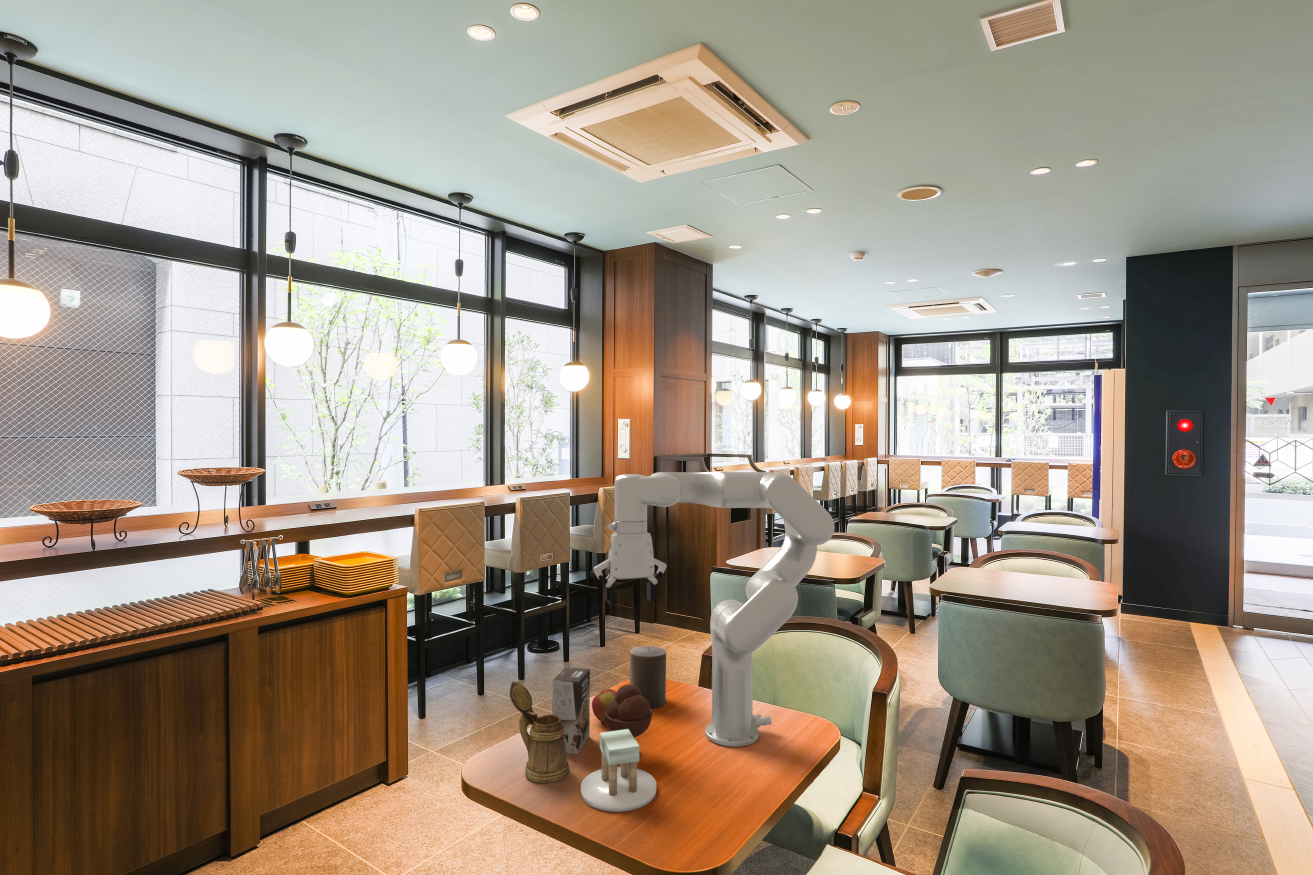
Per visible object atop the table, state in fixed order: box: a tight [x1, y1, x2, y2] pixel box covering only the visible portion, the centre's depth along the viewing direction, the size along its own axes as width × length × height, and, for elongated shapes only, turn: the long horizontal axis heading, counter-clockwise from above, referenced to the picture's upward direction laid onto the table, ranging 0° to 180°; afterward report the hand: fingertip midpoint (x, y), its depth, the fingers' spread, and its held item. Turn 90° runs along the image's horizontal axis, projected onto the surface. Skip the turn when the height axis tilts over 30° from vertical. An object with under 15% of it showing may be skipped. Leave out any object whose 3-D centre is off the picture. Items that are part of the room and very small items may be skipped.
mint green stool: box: [599, 729, 640, 796], centre depth 134 cm, size 8×6×9 cm
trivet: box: [580, 766, 657, 813], centre depth 133 cm, size 15×15×1 cm
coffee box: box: [551, 667, 591, 755], centre depth 154 cm, size 9×6×16 cm
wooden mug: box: [509, 680, 570, 784], centre depth 141 cm, size 9×14×18 cm, turn 68°
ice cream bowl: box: [604, 683, 654, 759], centre depth 149 cm, size 11×11×15 cm
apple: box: [591, 688, 617, 724], centre depth 166 cm, size 8×8×8 cm
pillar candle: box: [629, 645, 667, 710], centre depth 178 cm, size 10×10×15 cm
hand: (630, 601), depth 155 cm, fingers open, 9 cm apart
